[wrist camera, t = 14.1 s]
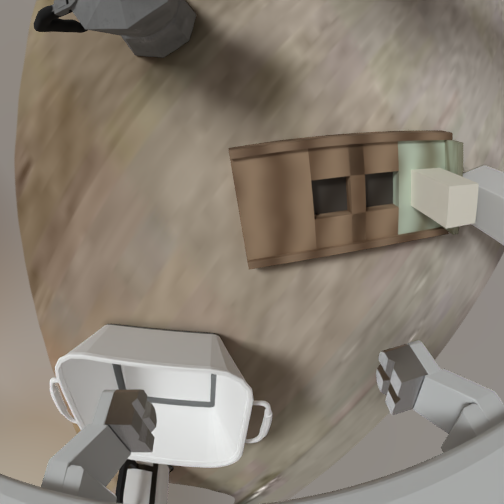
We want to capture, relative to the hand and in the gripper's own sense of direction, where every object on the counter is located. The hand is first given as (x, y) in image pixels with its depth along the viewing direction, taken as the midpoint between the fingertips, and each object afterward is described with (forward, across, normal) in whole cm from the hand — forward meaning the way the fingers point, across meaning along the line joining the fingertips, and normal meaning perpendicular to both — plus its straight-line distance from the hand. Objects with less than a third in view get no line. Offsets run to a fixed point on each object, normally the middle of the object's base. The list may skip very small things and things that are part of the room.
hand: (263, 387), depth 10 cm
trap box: (+31, -15, +3) cm, 35 cm away
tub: (+32, +17, +29) cm, 46 cm away
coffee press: (+31, +35, +62) cm, 77 cm away
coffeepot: (+31, +7, -21) cm, 39 cm away
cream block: (+29, -25, +3) cm, 39 cm away
